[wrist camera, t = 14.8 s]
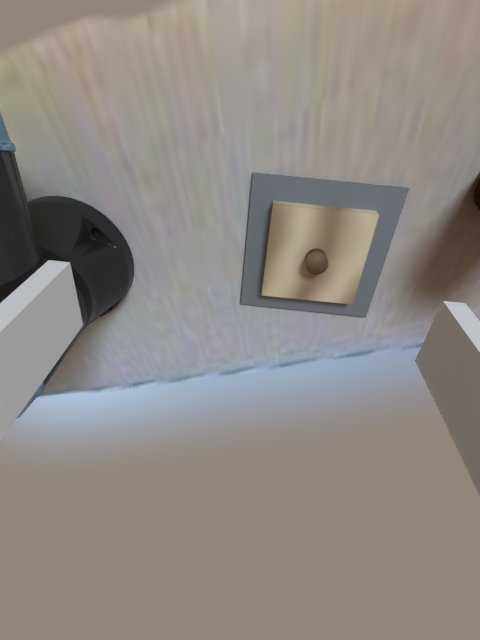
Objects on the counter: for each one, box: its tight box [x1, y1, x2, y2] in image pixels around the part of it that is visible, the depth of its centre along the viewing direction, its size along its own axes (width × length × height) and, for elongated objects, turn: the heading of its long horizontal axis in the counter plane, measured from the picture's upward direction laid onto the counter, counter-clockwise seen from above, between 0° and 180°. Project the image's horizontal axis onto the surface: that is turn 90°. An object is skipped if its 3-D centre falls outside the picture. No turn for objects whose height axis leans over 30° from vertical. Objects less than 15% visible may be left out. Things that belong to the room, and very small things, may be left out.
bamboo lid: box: [262, 201, 379, 305], centre depth 41 cm, size 11×11×3 cm
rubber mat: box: [241, 173, 409, 317], centre depth 42 cm, size 16×16×1 cm
